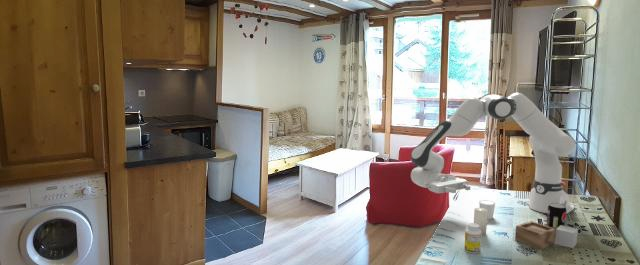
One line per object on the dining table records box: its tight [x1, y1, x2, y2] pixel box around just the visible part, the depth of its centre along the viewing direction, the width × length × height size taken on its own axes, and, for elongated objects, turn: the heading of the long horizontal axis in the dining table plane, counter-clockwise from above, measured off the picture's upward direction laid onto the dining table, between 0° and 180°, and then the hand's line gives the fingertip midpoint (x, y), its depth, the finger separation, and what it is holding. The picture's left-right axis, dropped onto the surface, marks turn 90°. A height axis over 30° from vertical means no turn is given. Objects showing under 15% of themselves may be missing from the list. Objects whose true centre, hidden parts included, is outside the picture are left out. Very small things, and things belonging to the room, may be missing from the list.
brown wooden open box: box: [514, 220, 556, 250], centre depth 153 cm, size 10×10×6 cm
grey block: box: [554, 225, 579, 249], centre depth 151 cm, size 6×6×6 cm
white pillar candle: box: [473, 207, 488, 236], centre depth 161 cm, size 5×5×10 cm
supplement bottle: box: [464, 222, 482, 255], centre depth 144 cm, size 6×6×10 cm
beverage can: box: [545, 203, 567, 229], centre depth 161 cm, size 7×7×12 cm
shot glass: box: [478, 199, 496, 220], centre depth 181 cm, size 7×7×7 cm
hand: (462, 189), depth 172 cm, fingers open, 8 cm apart
